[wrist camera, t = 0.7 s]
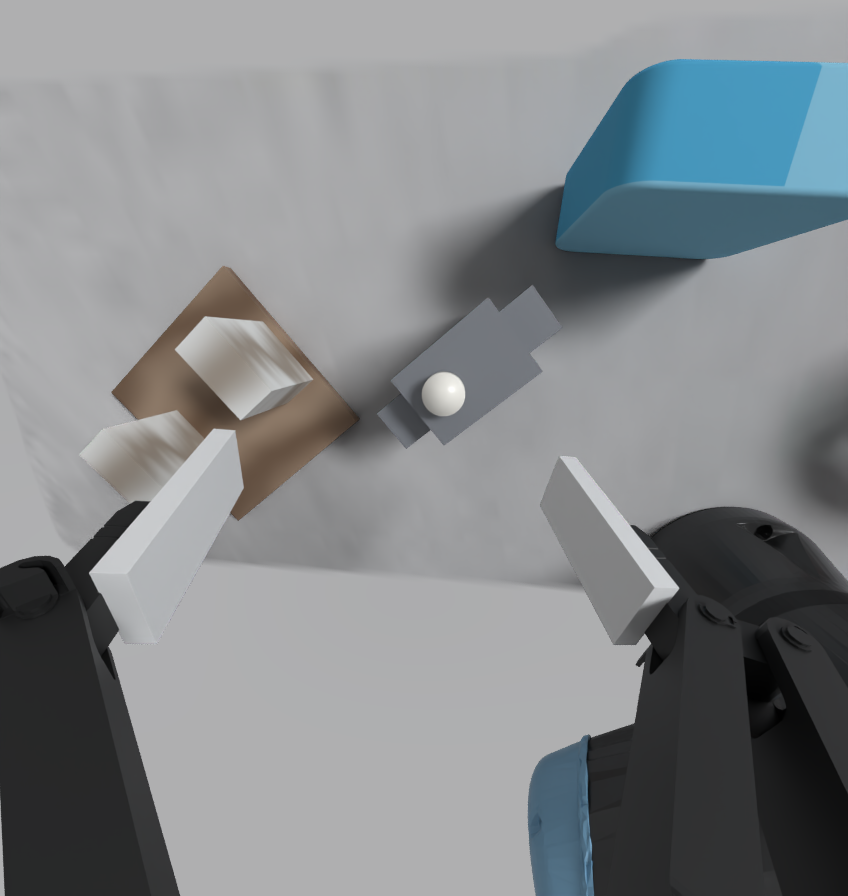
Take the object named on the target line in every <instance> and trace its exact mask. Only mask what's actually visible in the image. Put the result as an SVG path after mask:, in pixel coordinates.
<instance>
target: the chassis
mask: <svg viewBox="0 0 848 896" xmlns="http://www.w3.org/2000/svg"><path fill="white" fill-rule="evenodd" d="M111 393H112V394H113V395H114V396H115V397H116V398H117V399H118V400H119V401H120V402H121V403H122V404H123V405H124V406H125V407H126V408H127V409H128V410H129V411H130V412H131V413H132V414H133V415H134V416H135V417H136V418H137V419H138V420H136V421H132V422H128V423H124V424H120V425H116V426H112V427H108V428H104V429H102V430H101V431H100V432H99V433H98V435H97V436H96V437H95V438H94V439H93V440H92V441H91V442H90V443H89V444H88V446H87V447H86V448H85V449H84V450H83V451H82V452H81V453H80V454H79V455H80V456H81V457H82V458H83V459H84V460H85V461H86V462H87V463H88V464H89V465H90V466H91V467H92V468H93V469H94V470H95V471H96V472H97V473H99V474H100V475H101V476H102V477H103V478H104V479H105V480H106V481H107V482H108V483H109V484H110V485H111V486H112V487H113V488H114V489H115V490H116V491H117V492H118V493H119V494H120V495H122V496H123V497H124V498H125V499H126V500H127V501H128V502H129V503H130V504H131V503H132V502H134V501H152V499H153V498H154V497H155V496H156V495H157V494H158V492H159V491H160V490H161V489H162V488H163V487H164V486H165V484H166V483H167V482H168V481H169V480H170V479H171V477H172V476H173V475H174V474H175V473H176V472H177V471H178V469H179V468H180V467H181V466H182V465H183V464H184V462H185V461H186V460H187V459H188V458H189V457H190V455H191V454H192V453H193V452H194V451H195V450H196V449H197V447H198V446H199V445H200V444H201V443H202V442H203V440H204V439H205V438H206V437H207V436H208V435H209V433H210V432H211V431H212V430H213V429H225V430H235V432H236V439H237V445H238V452H239V459H240V465H241V472H242V479H243V486H244V488H243V490H242V492H241V494H240V496H239V497H238V499H237V501H236V503H235V505H234V506H233V508H232V510H231V512H230V513H231V514H232V515H233V516H234V517H235V518H236V519H237V520H238V521H239V520H240V519H241V518H242V517H243V516H245V515H246V514H247V513H248V512H249V511H251V510H252V509H253V508H254V507H255V506H257V505H258V504H259V503H260V502H261V501H263V500H264V499H265V498H266V497H267V496H269V495H270V494H271V493H272V492H273V491H275V490H276V489H277V488H278V487H279V486H280V485H282V484H283V483H284V482H285V481H286V480H288V479H289V478H290V477H291V476H292V475H294V474H295V473H296V472H297V471H298V470H300V469H301V468H302V467H303V466H304V465H306V464H307V463H308V462H309V461H310V460H312V459H313V458H314V457H315V456H316V455H317V454H319V453H320V452H321V451H322V450H323V449H325V448H326V447H327V446H328V445H329V444H331V443H332V442H333V441H334V440H335V439H337V438H338V437H339V436H340V435H341V434H343V433H344V432H345V431H346V430H347V429H349V428H350V427H351V426H352V425H353V424H354V423H356V422H357V421H358V420H359V417H358V416H357V415H356V414H355V413H354V412H353V410H352V409H351V408H350V407H349V406H348V405H347V403H346V402H345V401H344V400H343V399H342V398H341V396H340V395H339V394H338V393H337V392H336V391H335V389H334V388H333V387H332V386H331V385H330V384H329V383H328V381H327V380H326V379H325V378H324V377H323V376H322V374H321V373H320V372H319V371H318V370H317V369H316V367H315V366H314V365H313V364H312V363H311V362H310V360H309V359H308V358H307V357H306V356H305V355H304V353H303V352H302V351H301V350H300V349H299V348H298V346H297V345H296V344H295V343H294V342H293V341H292V339H291V338H290V337H289V336H288V335H287V334H286V332H285V331H284V330H283V329H282V328H281V327H280V325H279V324H278V323H277V322H276V321H275V320H274V318H273V317H272V316H271V315H270V314H269V313H268V311H267V310H266V309H265V308H264V307H263V306H262V304H261V303H260V302H259V301H258V300H257V299H256V297H255V296H254V295H253V294H252V293H251V292H250V290H249V289H248V288H247V287H246V286H245V285H244V283H243V282H242V281H241V280H240V279H239V278H238V276H237V275H236V274H235V273H234V272H233V271H232V269H231V268H228V267H225V266H222V267H221V269H220V270H219V271H218V272H217V273H216V274H215V275H214V276H213V278H212V279H211V280H210V281H209V282H208V283H207V284H206V286H205V287H204V288H203V289H202V290H201V291H200V292H199V293H198V295H197V296H196V297H195V298H194V299H193V300H192V301H191V303H190V304H189V305H188V306H187V307H186V308H185V309H184V310H183V312H182V313H181V314H180V315H179V316H178V317H177V318H176V320H175V321H174V322H173V323H172V324H171V325H170V326H169V327H168V329H167V330H166V331H165V332H164V333H163V334H162V335H161V337H160V338H159V339H158V340H157V341H156V342H155V343H154V344H153V346H152V347H151V348H150V349H149V350H148V351H147V352H146V354H145V355H144V356H143V357H142V358H141V359H140V360H139V361H138V363H137V364H136V365H135V366H134V367H133V368H132V369H131V371H130V372H129V373H128V374H127V375H126V376H125V377H124V378H123V380H122V381H121V382H120V383H119V384H118V385H117V386H116V388H115V389H114V390H113V391H112V392H111Z"/></svg>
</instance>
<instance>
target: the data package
mask: <svg viewBox="0 0 848 896" xmlns="http://www.w3.org/2000/svg"><path fill="white" fill-rule="evenodd" d="M847 219H848V63H825V62H781V61H736V60H692V59H677V60H670V61H665V62H661V63H658V64H655V65H653V66H650V67H648V68H646V69H644V70H642V71H641V72H639V73H637V74H636V75H635V76H633V77H632V78H631V79H630V80H629V81H628V82H627V83H626V84H625V86H624V87H623V88H622V90H621V91H620V93H619V95H618V96H617V98H616V99H615V101H614V102H613V104H612V105H611V107H610V108H609V110H608V111H607V113H606V115H605V116H604V118H603V119H602V121H601V122H600V124H599V125H598V127H597V128H596V130H595V132H594V133H593V135H592V136H591V138H590V139H589V141H588V142H587V144H586V145H585V147H584V148H583V150H582V152H581V153H580V155H579V156H578V158H577V159H576V161H575V162H574V164H573V165H572V167H571V168H570V170H569V172H568V173H567V175H566V180H565V186H564V193H563V199H562V205H561V211H560V217H559V224H558V230H557V236H556V242H555V244H556V247H557V248H559V249H561V250H565V251H572V252H588V253H605V254H622V255H639V256H656V257H673V258H690V259H713V258H721V257H727V256H731V255H734V254H738V253H741V252H744V251H747V250H750V249H754V248H757V247H760V246H763V245H767V244H770V243H773V242H776V241H780V240H783V239H786V238H789V237H792V236H796V235H799V234H802V233H805V232H809V231H812V230H815V229H818V228H822V227H825V226H828V225H831V224H835V223H838V222H841V221H844V220H847Z"/></svg>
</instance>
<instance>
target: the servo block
mask: <svg viewBox="0 0 848 896" xmlns="http://www.w3.org/2000/svg"><path fill="white" fill-rule="evenodd" d="M561 328H563V327H562V326H561V325H560V323H559V322H558V320H557V319H556V317H555V316H554V315H553V313H552V312H551V310H550V309H549V307H548V306H547V305H546V303H545V302H544V300H543V299H542V297H541V296H540V295H539V293H538V292H537V290H536V289H535V287H534V286H533V285H531V286H530V287H529V288H528V289H526V290H525V291H524V292H523V293H522V294H520V295H519V296H518V297H517V298H515V299H514V300H513V301H512V302H511V303H509V304H508V305H507V306H506V307H505V308H503V309H502V310H501V311H500V312H499V311H498V309H497V308H496V307H495V305H494V304H493V303H492V301H491V300H490V298H489V297H488V298H487V299H485V300H484V301H483V302H482V303H481V304H480V305H478V306H477V307H476V308H475V309H474V310H472V311H471V312H470V313H469V314H468V315H467V316H465V317H464V318H463V319H462V320H461V321H460V322H458V323H457V324H456V325H455V326H454V327H452V328H451V329H450V330H449V331H448V332H447V333H445V334H444V335H443V336H442V337H441V338H440V339H438V340H437V341H436V342H435V343H434V344H432V345H431V346H430V347H429V348H428V349H427V350H425V351H424V352H423V353H422V354H421V355H420V356H418V357H417V358H416V359H415V360H414V361H412V362H411V363H410V364H409V365H408V366H407V367H405V368H404V369H403V370H402V371H401V372H400V373H398V374H397V375H396V376H395V377H394V378H392V379H391V380H390V381H391V382H392V383H393V384H394V385H395V387H396V388H397V389H398V390H399V392H400V393H401V394H400V395H399V396H397V397H396V398H395V399H394V400H393V401H391V402H390V403H389V404H388V405H386V406H385V407H384V408H383V409H382V410H380V411H379V412H378V413H377V415H378V416H379V417H380V418H381V420H382V421H383V422H384V423H385V424H386V426H387V427H388V428H389V429H390V430H391V431H392V433H393V434H394V435H395V436H396V437H397V439H398V440H399V441H400V442H401V443H402V444H403V446H404V447H405V448H408V447H409V446H410V445H412V444H413V443H414V442H416V441H417V440H418V439H419V438H421V437H422V436H423V435H425V434H426V433H427V432H428V431H430V430H431V431H432V432H433V433H434V434H435V435H436V437H437V438H438V439H439V440H440V441H441V443H442V444H443V445H445V444H447V443H448V442H449V441H451V440H452V439H453V438H455V437H456V436H457V435H459V434H460V433H461V432H463V431H464V430H465V429H467V428H468V427H469V426H471V425H472V424H473V423H475V422H476V421H477V420H479V419H480V418H481V417H483V416H484V415H485V414H487V413H488V412H489V411H491V410H492V409H493V408H495V407H496V406H497V405H499V404H500V403H501V402H503V401H504V400H505V399H507V398H508V397H509V396H511V395H512V394H513V393H515V392H516V391H517V390H519V389H520V388H521V387H523V386H524V385H525V384H527V383H528V382H529V381H531V380H532V379H533V378H535V377H536V376H537V375H538V374H540V373H541V372H542V370H541V368H540V367H539V366H538V364H537V363H536V362H535V360H534V359H533V357H532V356H531V355H530V352H532V351H533V350H534V349H536V348H537V347H538V346H539V345H541V344H542V343H543V342H545V341H546V340H547V339H548V338H550V337H551V336H552V335H554V334H555V333H556V332H558V331H559V330H560V329H561Z"/></svg>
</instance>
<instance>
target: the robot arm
mask: <svg viewBox="0 0 848 896" xmlns="http://www.w3.org/2000/svg"><path fill="white" fill-rule="evenodd" d="M243 488H244V486H243V479H242V472H241V465H240V459H239V452H238V445H237V439H236V432H235V430H225V429H213V430H212V431H211V432H210V433H209V435H208V436H207V437H206V438H205V439H204V440H203V442H202V443H201V444H200V445H199V446H198V447H197V449H196V450H195V451H194V452H193V453H192V454H191V455H190V457H189V458H188V459H187V460H186V461H185V462H184V464H183V465H182V466H181V467H180V468H179V469H178V471H177V472H176V473H175V474H174V475H173V476H172V477H171V479H170V480H169V481H168V482H167V483H166V484H165V486H164V487H163V488H162V489H161V490H160V491H159V492H158V494H157V495H156V496H155V497H154V498H153V499H152V501H134V502H132V503H131V504H129V505H127V506H126V507H124V508H122V509H121V510H119V511H117V512H116V513H115V514H114V515H113V516H112V517H111V519H110V520H109V521H108V522H107V523H106V524H105V525H104V528H101V529H100V530H99V531H98V532H97V533H96V534H95V535H94V538H93V539H91V540H90V541H89V542H88V543H87V544H86V545H85V546H84V547H83V548H82V549H81V550H80V551H79V552H78V553H77V554H76V555H75V556H74V557H73V559H72V560H71V561H70V562H69V563H68V564H67V565H66V566H65V567H64V565H63V564H62V562H61V561H60V560H59V559H58V558H54V557H51V556H34V557H30V558H26V559H22V560H19V561H16V562H14V563H11V564H9V565H7V566H4V567H2V568H0V800H1V822H2V842H3V866H4V888H5V896H180V894H179V890H178V887H177V883H176V879H175V876H174V872H173V869H172V865H171V862H170V858H169V855H168V851H167V848H166V844H165V840H164V837H163V833H162V830H161V827H160V823H159V819H158V816H157V812H156V809H155V805H154V801H153V798H152V795H151V791H150V787H149V784H148V780H147V777H146V773H145V770H144V766H143V762H142V759H141V756H140V752H139V748H138V745H137V741H136V738H135V735H134V731H133V727H132V723H131V720H130V716H129V713H128V709H127V706H126V702H125V699H124V695H123V692H122V688H121V685H120V681H119V678H118V674H117V671H116V667H115V663H114V660H113V656H112V653H111V651H110V649H109V647H108V646H109V644H110V643H111V641H112V640H113V638H114V637H115V635H116V634H117V632H119V634H120V635H121V638H122V639H123V641H124V643H125V644H157V643H158V641H159V639H160V638H161V636H162V634H163V632H164V630H165V628H166V627H167V625H168V623H169V621H170V620H171V618H172V616H173V614H174V612H175V611H176V609H177V607H178V605H179V603H180V602H181V600H182V598H183V596H184V594H185V593H186V591H187V589H188V587H189V585H190V584H191V582H192V580H193V578H194V576H195V575H196V573H197V571H198V569H199V567H200V566H201V564H202V562H203V560H204V558H205V557H206V555H207V553H208V551H209V549H210V548H211V546H212V544H213V542H214V541H215V539H216V537H217V535H218V533H219V532H220V530H221V528H222V526H223V524H224V523H225V521H226V519H227V517H228V515H229V514H230V512H231V510H232V508H233V506H234V505H235V503H236V501H237V499H238V497H239V496H240V494H241V492H242V490H243ZM540 507H541V508H542V510H543V512H544V514H545V516H546V518H547V520H548V522H549V524H550V525H551V527H552V529H553V531H554V533H555V535H556V537H557V539H558V541H559V542H560V544H561V546H562V548H563V550H564V552H565V554H566V556H567V558H568V559H569V561H570V563H571V565H572V567H573V569H574V571H575V573H576V575H577V576H578V578H579V580H580V582H581V584H582V586H583V588H584V590H585V592H586V593H587V595H588V597H589V599H590V601H591V603H592V605H593V607H594V609H595V611H596V612H597V614H598V616H599V618H600V620H601V622H602V623H603V625H604V628H605V629H606V631H607V633H608V635H609V637H610V639H611V641H612V643H613V644H614V645H636V644H637V643H638V641H639V640H640V639H641V637H642V636H643V635H644V634H646V636H647V637H648V639H649V640H650V642H651V645H650V646H649V648H648V649H647V650H646V651H645V652H644V653H643V655H642V656H641V657H640V658H639V660H638V661H637V663H636V665H637V666H638V667H640V666H641V665H642V663H643V662H645V664H644V670H643V676H642V682H641V688H640V694H639V700H638V706H637V713H636V719H635V723H634V724H631V725H629V726H625V727H622V728H619V729H616V730H613V731H610V732H607V733H604V734H601V735H598V736H595V737H592V738H591V736H590V735H585V736H583V738H582V739H581V741H580V742H577V743H575V744H572V745H570V746H568V747H565V748H563V749H560V750H558V751H555V752H553V753H551V754H548V755H547V756H545V757H544V758H542V759H541V760H540V761H539V763H538V764H537V766H536V768H535V770H534V773H533V775H532V778H531V783H530V788H529V796H528V830H529V844H530V845H529V846H530V855H531V865H532V873H533V880H534V887H535V893H536V896H848V581H847V580H846V579H845V578H844V576H843V575H842V574H841V573H840V572H839V571H838V570H837V568H836V567H835V566H834V565H833V564H832V563H831V561H830V560H829V559H828V558H827V557H826V556H825V554H824V553H823V552H822V551H821V550H820V549H819V548H818V546H817V545H816V544H815V543H814V542H813V541H812V540H811V539H809V538H808V537H807V536H806V535H804V534H803V533H802V532H800V531H798V530H797V529H795V528H793V527H792V526H790V525H788V524H786V523H785V522H783V521H781V520H779V519H777V518H776V517H774V516H772V515H769V514H767V513H764V512H761V511H758V510H754V509H749V508H741V507H721V508H712V509H707V510H703V511H699V512H696V513H693V514H690V515H687V516H685V517H682V518H680V519H678V520H676V521H674V522H672V523H671V524H669V525H668V526H666V527H665V528H663V529H662V530H660V531H659V532H658V533H657V534H655V535H654V536H653V537H652V538H650V537H649V536H648V535H647V534H646V533H644V532H643V531H642V530H640V529H639V528H638V527H636V526H634V525H629V524H628V523H627V521H626V520H625V519H624V518H623V516H622V515H621V514H620V513H619V511H618V510H617V509H616V507H615V506H614V505H613V504H612V502H611V501H610V500H609V499H608V497H607V496H606V495H605V494H604V492H603V491H602V490H601V489H600V487H599V486H598V485H597V483H596V482H595V481H594V480H593V478H592V477H591V476H590V475H589V473H588V472H587V471H586V470H585V468H584V467H583V466H582V465H581V463H580V462H579V461H578V459H577V458H576V457H567V456H559V457H558V460H557V462H556V465H555V467H554V470H553V473H552V475H551V478H550V480H549V483H548V485H547V488H546V490H545V493H544V495H543V498H542V500H541V503H540Z"/></svg>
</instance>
